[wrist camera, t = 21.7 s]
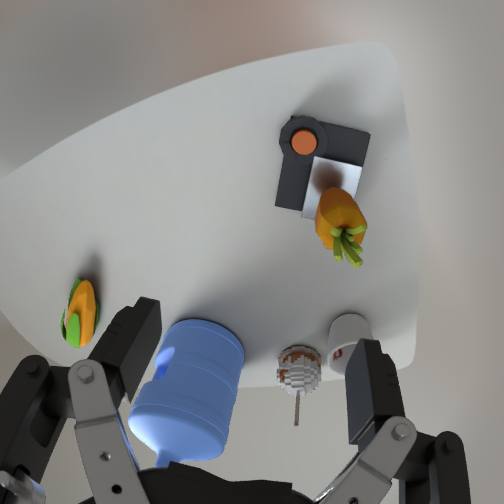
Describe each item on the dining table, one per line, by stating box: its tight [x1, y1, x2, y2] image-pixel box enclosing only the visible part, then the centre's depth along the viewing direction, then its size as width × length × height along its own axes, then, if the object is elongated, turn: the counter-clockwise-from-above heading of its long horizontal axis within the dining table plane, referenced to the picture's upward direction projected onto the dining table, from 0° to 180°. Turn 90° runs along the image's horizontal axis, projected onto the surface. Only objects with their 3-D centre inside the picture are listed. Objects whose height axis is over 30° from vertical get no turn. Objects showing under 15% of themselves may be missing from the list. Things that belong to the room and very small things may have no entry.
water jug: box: [128, 319, 244, 467], centre depth 47 cm, size 16×16×28 cm
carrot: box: [315, 187, 367, 268], centre depth 31 cm, size 5×5×15 cm
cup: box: [327, 314, 373, 375], centre depth 49 cm, size 11×8×8 cm
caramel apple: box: [277, 346, 321, 427], centre depth 51 cm, size 8×8×15 cm
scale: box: [275, 116, 370, 211], centre depth 38 cm, size 12×11×3 cm
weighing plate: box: [301, 156, 363, 220], centre depth 38 cm, size 8×6×1 cm
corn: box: [61, 279, 98, 348], centre depth 55 cm, size 7×8×20 cm
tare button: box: [292, 129, 317, 155], centre depth 35 cm, size 3×3×2 cm
